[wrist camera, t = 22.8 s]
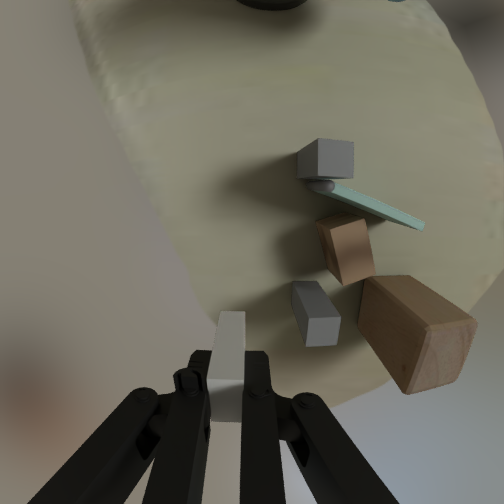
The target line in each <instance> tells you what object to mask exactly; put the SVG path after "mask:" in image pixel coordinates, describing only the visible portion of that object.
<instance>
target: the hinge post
mask: <svg viewBox="0 0 504 504" xmlns="http://www.w3.org/2000/svg"><path fill="white" fill-rule="evenodd" d="M353 174H354V142H350V141H342V140H332V139H322V138H318V139H316V140H315V141H313V142H312V143H310V144H309V145H307V146H306V147H304V148H303V149H301V150H300V151H298V152H297V178H301V179H320V180H326V179H345V178H353Z"/></svg>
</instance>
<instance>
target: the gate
mask: <svg viewBox="0 0 504 504" xmlns="http://www.w3.org/2000/svg"><path fill="white" fill-rule="evenodd" d="M306 188H307V189H308V190H313V191H315V192H318V193H321V194H323V195H326V196H329V197H331V198H334V199H337V200H339V201H342V202H344V203H347V204H349V205H352V206H354V207H357V208H359V209H362V210H364V211H367V212H369V213H372V214H374V215H376V216H379V217H381V218H383V219H386V220H388V221H391V222H394V223H397V224H401V225H404V226H407V227H410V228H413V229H416V230H420V231H423V228H424V225H425V223H424V222H422V221H420V220H418V219H416V218H414V217H412V216H410V215H408V214H406V213H404V212H402V211H400V210H397V209H395V208H393V207H391V206H389V205H387V204H384V203H382V202H380V201H378V200H375V199H373V198H371V197H369V196H366V195H364V194H362V193H359V192H357V191H354V190H352V189H350V188H347V187H345V186H342V185H340V184H337V183H334V182H333V181H332V180H316V181H308V182H307V183H306Z"/></svg>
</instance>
